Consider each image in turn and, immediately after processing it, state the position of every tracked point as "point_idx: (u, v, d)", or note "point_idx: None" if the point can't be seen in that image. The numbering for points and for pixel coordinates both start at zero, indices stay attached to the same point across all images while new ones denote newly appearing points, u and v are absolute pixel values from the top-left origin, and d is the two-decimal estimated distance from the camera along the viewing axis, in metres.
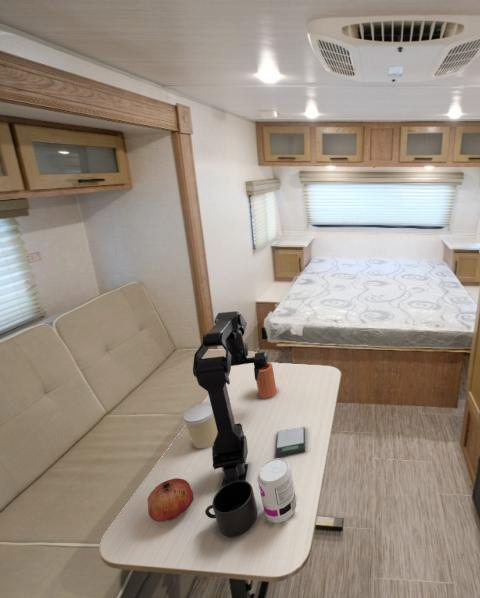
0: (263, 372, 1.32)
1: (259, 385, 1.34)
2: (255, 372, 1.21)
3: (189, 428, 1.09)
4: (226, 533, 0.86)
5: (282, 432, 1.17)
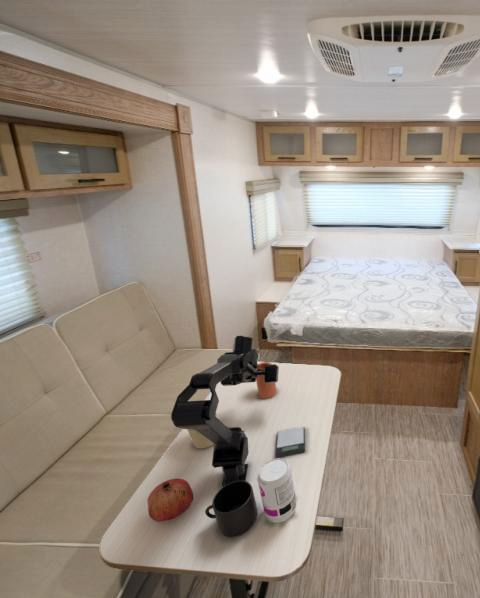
0: None
1: (259, 385, 1.34)
2: None
3: None
4: (226, 533, 0.86)
5: (282, 432, 1.17)
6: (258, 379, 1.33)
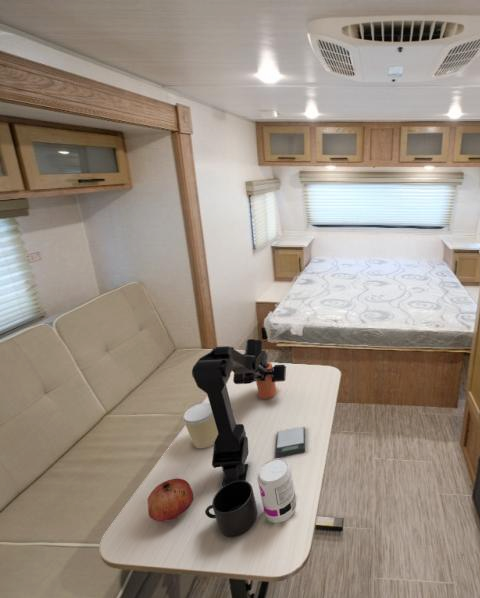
0: None
1: (259, 385, 1.34)
2: None
3: (189, 428, 1.09)
4: (226, 533, 0.86)
5: (282, 432, 1.17)
6: None
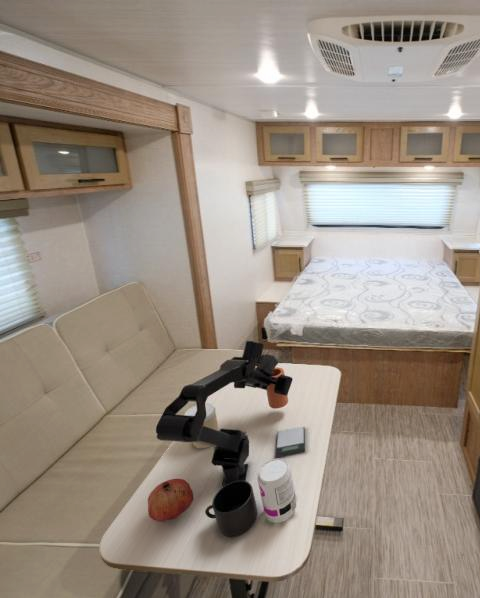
0: None
1: (267, 392, 1.21)
2: None
3: None
4: (226, 533, 0.86)
5: (282, 432, 1.17)
6: None
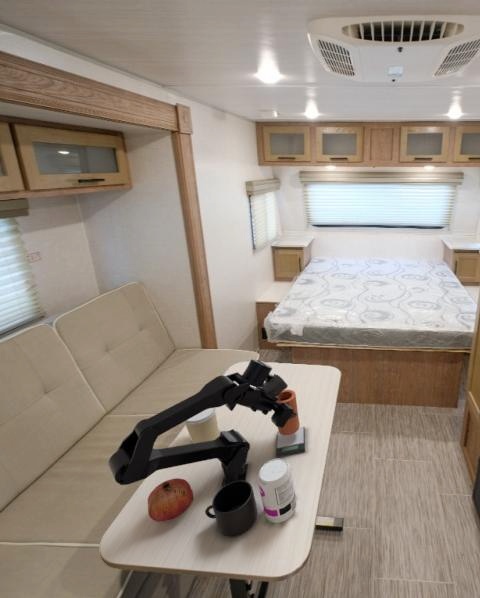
0: None
1: None
2: None
3: (189, 428, 1.09)
4: (226, 533, 0.86)
5: None
6: None
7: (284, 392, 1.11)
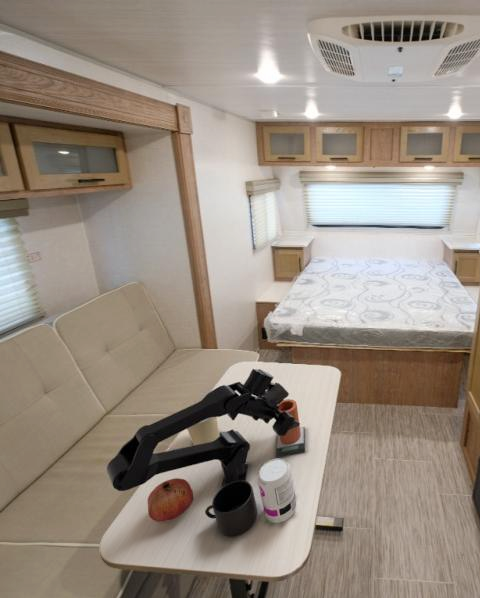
0: None
1: None
2: None
3: (189, 428, 1.09)
4: (226, 533, 0.86)
5: None
6: None
7: (285, 402, 1.12)
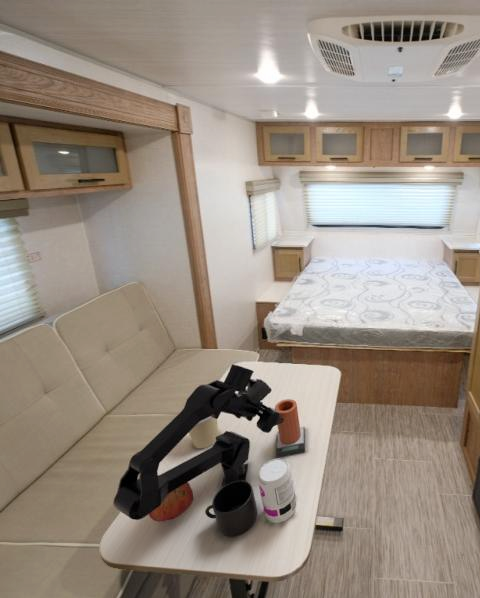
0: None
1: None
2: None
3: None
4: (226, 533, 0.86)
5: None
6: None
7: (285, 402, 1.12)
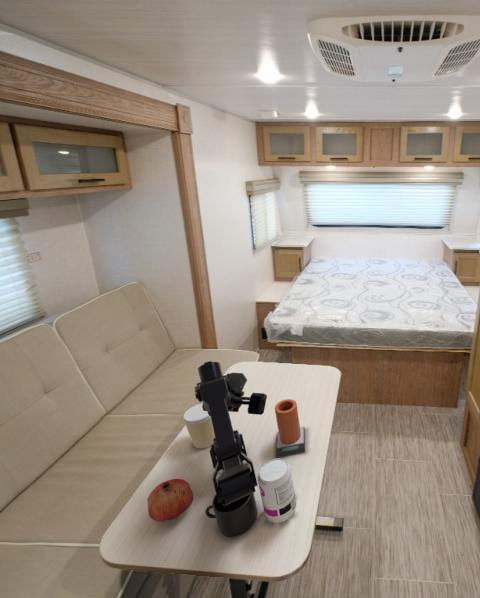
0: (277, 413, 1.08)
1: None
2: None
3: (189, 428, 1.09)
4: (226, 533, 0.86)
5: None
6: (276, 417, 1.11)
7: (285, 402, 1.12)
